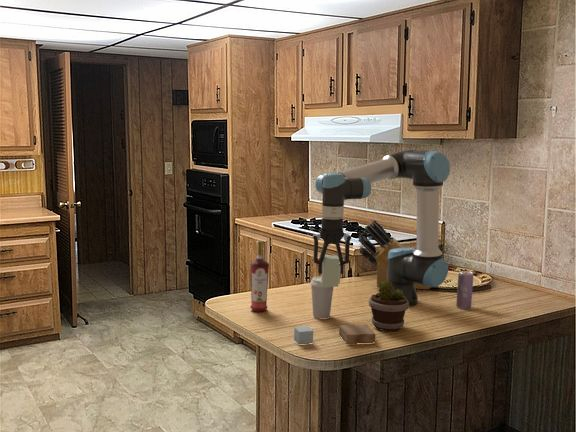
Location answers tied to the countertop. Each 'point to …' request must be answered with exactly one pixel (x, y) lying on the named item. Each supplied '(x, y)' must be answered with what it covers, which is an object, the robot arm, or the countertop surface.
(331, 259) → the sage block
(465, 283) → the beverage can
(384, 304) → the flowerpot
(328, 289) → the coffee cup
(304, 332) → the blue-grey cube
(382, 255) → the knife block
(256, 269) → the liquor
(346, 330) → the walnut block
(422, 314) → the countertop surface
